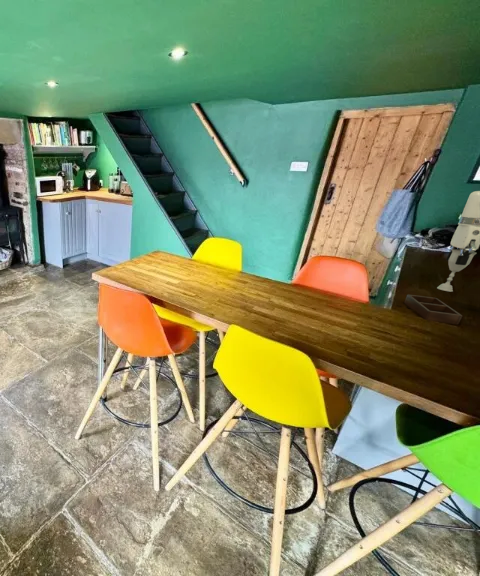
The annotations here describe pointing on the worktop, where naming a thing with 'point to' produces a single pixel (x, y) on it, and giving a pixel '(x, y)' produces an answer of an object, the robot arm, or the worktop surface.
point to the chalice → (454, 268)
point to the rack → (432, 309)
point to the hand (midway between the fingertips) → (455, 262)
